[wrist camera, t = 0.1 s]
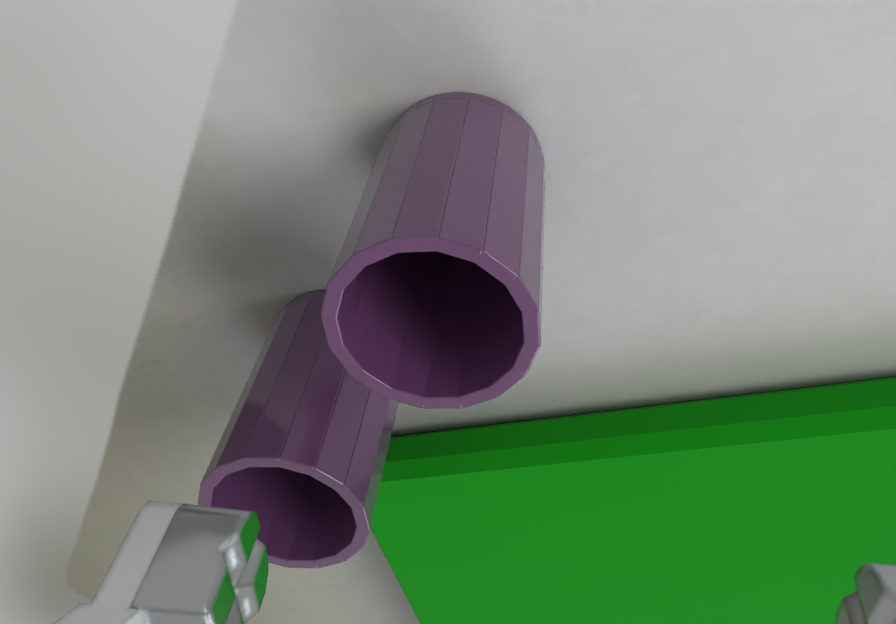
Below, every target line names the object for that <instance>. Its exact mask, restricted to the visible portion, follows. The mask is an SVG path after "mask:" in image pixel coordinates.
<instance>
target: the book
mask: <svg viewBox="0 0 896 624" xmlns="http://www.w3.org/2000/svg"><path fill="white" fill-rule="evenodd" d="M370 528H371V529H372V531H373V533H374V535H375V537H376V539H377V541H378V543H379V545H380V547H381V549H382V550H383V552H384V554H385V556H386V558H387V560H388V562H389V564H390V566H391V568H392V570H393V571H394V573H395V575H396V577H397V579H398V581H399V583H400V585H401V587H402V589H403V591H404V593H405V594H406V596H407V598H408V600H409V602H410V604H411V606H412V608H413V610H414V612H415V614H416V615H417V617H418V619H419V621H420V623H421V624H835V620H836V612H837V610H838V607H839V605H840V603H841V601H842V599H843V598H844V597H845V596H847V595H849V594H851V593H853V592H855V591H857V589H856V585H855V582H854V579H853V577H854V576H855V574H856V572H857V570H858V568H859V567H860V566H862V565H864V564H866V563H878V564H892V565H896V377H890V378H881V379H873V380H865V381H856V382H848V383H839V384H831V385H823V386H814V387H806V388H797V389H789V390H780V391H772V392H764V393H755V394H747V395H738V396H730V397H722V398H713V399H705V400H696V401H688V402H680V403H671V404H663V405H654V406H646V407H638V408H629V409H621V410H612V411H604V412H596V413H587V414H579V415H570V416H562V417H554V418H545V419H537V420H528V421H520V422H512V423H503V424H495V425H486V426H478V427H469V428H461V429H453V430H444V431H436V432H427V433H419V434H411V435H402V436H394V437H391V438H390V443H389V447H388V451H387V456H386V460H385V465H384V469H383V474H382V478H381V482H380V487H379V491H378V496H377V500H376V504H375V509H374V513H373V518H372V522H371V526H370Z"/></svg>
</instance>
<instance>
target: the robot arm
mask: <svg viewBox="0 0 896 624" xmlns="http://www.w3.org/2000/svg"><path fill="white" fill-rule="evenodd" d="M259 529H260V522H259V519H258V516H257V512H256V511H248V510H239V509H229V508H220V507H210V506H200V505H191V504H184V503H172V502H161V501H150V500H149V501H148V502H147V503H146V505H145V506H144V507H143V508H142V509H141V510H140V511H139V512H138V514H137V516H136V518H135V520H134V522H133V524H132V526H131V528H130V529H129V531H128V533H127V535H126V537H125V539H124V541H123V543H122V545H121V547H120V549H119V551H118V552H117V554H116V556H115V558H114V560H113V562H112V564H111V566H110V568H109V570H108V572H107V574H106V575H105V577H104V579H103V581H102V583H101V585H100V587H99V589H98V591H97V593H96V595H95V597H94V598H93V600H92V602H91V604H84V603H81V604H79V605H77V606H76V607H75V608H74V609H72V610H71V611H69V612H68V613H67V614H65V615H64V616H63V617H62V618H60V619H59V620H58V621H56V622H55V623H54V624H246V623H247V622H248V621H249V620H250V619H251V618H252V617H254V616H255V615H256V614H257V613H258V612H259V610H260V607H261V604H262V600H263V597H264V594H265V589H266V583H267V576H268V555H267V550H266V546H265V545H264V544H263V543H262V542H260V541H259V540H258V539H257V535H258V532H259ZM853 579H854V582H855V585H856V589H857V591H855V592H853V593H851V594H849V595H847V596H845V597H844V598H843V599H842V601H841V603H840V605H839V607H838V610H837V612H836V620H835V624H896V565H892V564H878V563H866V564H864V565H862V566H860V567H859V568H858V570H857V572H856V574H855V576H854V577H853Z"/></svg>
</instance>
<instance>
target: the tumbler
mask: <svg viewBox="0 0 896 624" xmlns="http://www.w3.org/2000/svg"><path fill="white" fill-rule="evenodd" d="M325 293H326V290H322V291H315V292H310V293H307V294H304V295H302V296H300V297H298V298H296V299H294V300H293V301H291V302H290V303H289V304H287V305H286V306H285V307H284V308H283V310H282V311H281V312H280V314H279V316H278V318H277V320H276V321H275V322H274V324H273V326H272V328H271V330H270V332H269V335H268V337H267V339H266V341H265V343H264V345H263V348H262V350H261V352H260V354H259V356H258V359H257V361H256V363H255V365H254V367H253V370H252V372H251V374H250V376H249V378H248V381H247V383H246V385H245V387H244V389H243V392H242V394H241V396H240V398H239V400H238V402H237V405H236V407H235V409H234V411H233V413H232V416H231V418H230V420H229V422H228V424H227V427H226V429H225V431H224V433H223V435H222V438H221V440H220V442H219V444H218V446H217V448H216V451H215V453H214V455H213V457H212V459H211V462H210V464H209V466H208V468H207V470H206V473H205V475H204V477H203V479H202V481H201V484H200V491H199V498H198V505H200V506H210V507H220V508H229V509H239V510H248V511H256V512H257V516H258V519H259V522H260V529H259V532H258V535H257V539H258V540H259V541H260V542H262V543H263V544H264V545H265V546H266V550H267V555H268V563H272V564H276V565H280V566H284V567H289V568H321V567H325V566H329V565H333V564H337V563H341V562H344V561H346V560H347V559H349V558H350V557H351V556H353V555H354V554H355V553H357V552H358V551H359V550H361V549H362V547H363V546H364V544H365V541H366V538H367V536H368V533H369V530H370V526H371V522H372V518H373V513H374V509H375V504H376V500H377V496H378V491H379V487H380V482H381V478H382V474H383V469H384V465H385V460H386V456H387V451H388V447H389V443H390V438H391V434H392V429H393V425H394V421H395V416H396V412H397V407H398V403H399V402H398V401H395V400H391V399H388V398H386V397H383V396H381V395H380V394H378V393H376V392H375V391H373V390H372V389H370V388H369V387H367V386H365V385H364V384H362V383H361V382H359V381H357V380H356V379H354V378H353V376H351V375H350V374H349V372H348V371H347V370H346V369H345V367H344V366H343V365H342V364H341V362H340V361H339V360H338V359H337V357H336V356H335V355H334V354H333V352H332V351H331V350H330V348H329V345H328V341H327V337H326V334H325V330H324V326H323V322H322V319H321V310H322V306H323V301H324V297H325Z"/></svg>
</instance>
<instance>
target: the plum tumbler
mask: <svg viewBox="0 0 896 624" xmlns="http://www.w3.org/2000/svg"><path fill="white" fill-rule="evenodd" d="M544 171H545V166H544V157H543V153H542V150H541V146H540V144H539V142H538V140H537V137H536V136H535V134H534V132H533V131H532V129H531V128H530V127H529V125H528V124H527V123H526V122H525V120H524V119H523V118H521V117H520V116H519V115H518V114H517V113H516V112H515V111H513V110H512V109H511V108H509V107H508V106H506V105H504V104H502V103H500V102H499V101H496V100H494V99H491V98H489V97H486V96H482V95H478V94H472V93H447V94H441V95H437V96H433V97H430V98H428V99H425V100H423V101H421V102H419V103H417V104H416V105H414V106H412V107H411V108H410V109H408V110H407V111H406V112H405V113H403V115H402V116H401V117H400V118H399V119H398V120H397V121H396V122H395V124H394V125H393V127H392V128H391V130H390V132H389V134H388V135H387V137H386V138H385V140H384V142H383V144H382V147H381V150H380V152H379V155H378V157H377V160H376V162H375V165H374V167H373V170H372V172H371V175H370V177H369V180H368V182H367V185H366V188H365V190H364V193H363V195H362V198H361V200H360V203H359V205H358V208H357V210H356V213H355V215H354V218H353V220H352V223H351V226H350V228H349V231H348V233H347V236H346V238H345V241H344V243H343V246H342V248H341V251H340V253H339V256H338V258H337V261H336V264H335V266H334V269H333V271H332V274H331V276H330V279H329V281H328V284H327V289H326V293H325V297H324V301H323V306H322V310H321V319H322V322H323V326H324V330H325V334H326V337H327V341H328V345H329V348H330V350H331V351H332V352H333V354H334V355H335V356H336V357H337V359H338V360H339V361H340V362H341V364H342V365H343V366H344V367H345V369H346V370H347V371H348V372H349V374H350V375H351V376H353V378H354V379H356V380H357V381H359V382H361V383H362V384H364V385H365V386H367V387H369V388H370V389H372V390H373V391H375V392H376V393H378V394H380V395H381V396H383V397H386V398H388V399H391V400H395V401H398V402H402V403H405V404H409V405H412V406H416V407H419V408H425V409H433V408H462V407H463V408H465V407H468V406H472V405H475V404H478V403H481V402H484V401H487V400H490V399H493V398H497V397H498V396H500V395H501V394H503V393H504V392H505V391H506V390H508V389H509V388H510V387H511V386H513V385H514V384H515V383H516V382H518V381H519V380H520V379H521V378H523V377H524V376H525V375H526V374H527V372H528V370H529V368H530V366H531V364H532V362H533V360H534V358H535V356H536V354H537V351H538V349H539V347H540V343H541V324H542V285H543V247H544V208H545V176H544Z"/></svg>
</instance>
